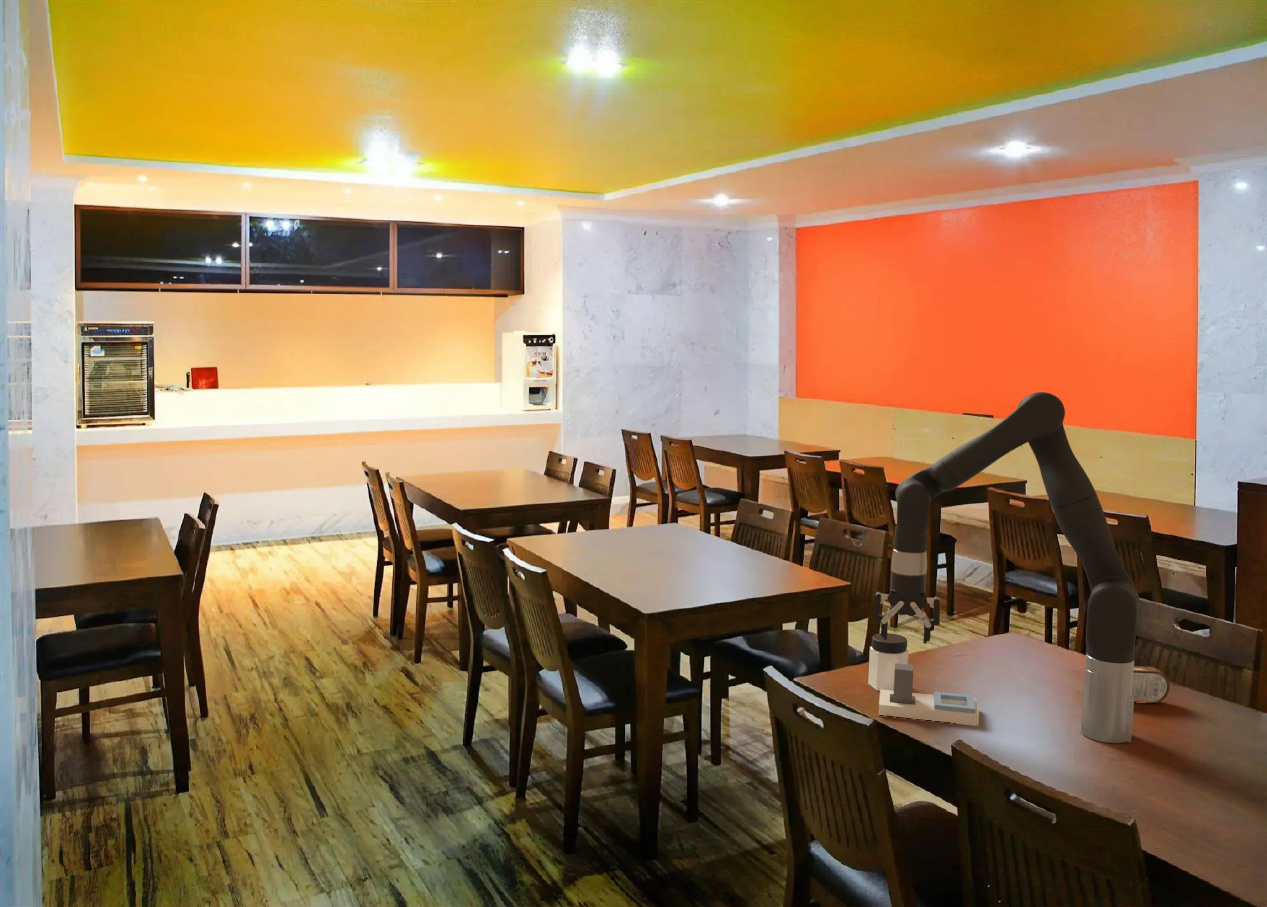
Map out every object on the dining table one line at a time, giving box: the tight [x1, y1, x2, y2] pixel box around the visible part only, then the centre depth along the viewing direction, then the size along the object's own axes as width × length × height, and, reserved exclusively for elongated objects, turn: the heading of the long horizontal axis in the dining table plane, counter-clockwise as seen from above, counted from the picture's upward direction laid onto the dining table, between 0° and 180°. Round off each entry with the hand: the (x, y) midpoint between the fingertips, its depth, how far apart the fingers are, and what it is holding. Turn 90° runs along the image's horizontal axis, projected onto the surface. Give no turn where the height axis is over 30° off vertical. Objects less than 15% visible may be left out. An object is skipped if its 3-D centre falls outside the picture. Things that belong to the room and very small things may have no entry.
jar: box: [868, 632, 909, 692], centre depth 244 cm, size 9×8×12 cm
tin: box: [1132, 665, 1171, 704], centre depth 235 cm, size 15×3×8 cm, turn 84°
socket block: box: [878, 689, 980, 727], centre depth 228 cm, size 21×10×4 cm, turn 75°
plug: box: [893, 663, 914, 704], centre depth 229 cm, size 4×4×10 cm
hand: (905, 640), depth 228 cm, fingers open, 8 cm apart
